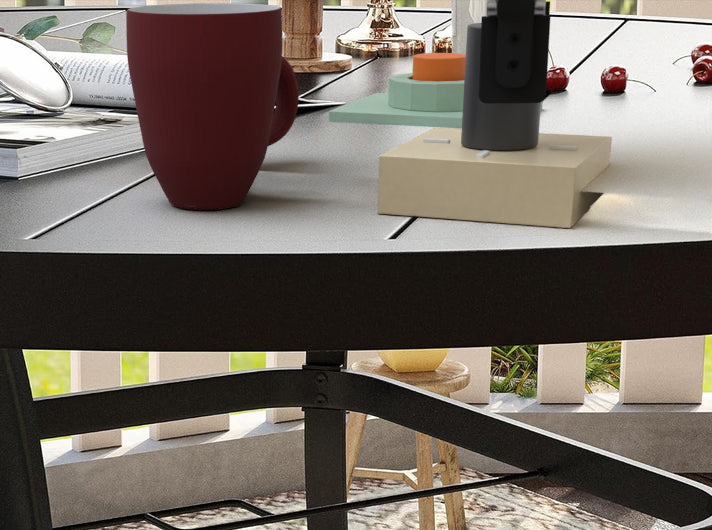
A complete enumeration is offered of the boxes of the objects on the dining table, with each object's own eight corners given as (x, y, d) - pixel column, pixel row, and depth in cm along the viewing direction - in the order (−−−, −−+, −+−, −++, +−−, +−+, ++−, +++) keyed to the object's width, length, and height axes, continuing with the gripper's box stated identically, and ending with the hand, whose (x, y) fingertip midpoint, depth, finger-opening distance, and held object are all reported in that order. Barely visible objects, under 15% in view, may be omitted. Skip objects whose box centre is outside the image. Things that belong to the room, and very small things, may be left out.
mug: (226, 177, 83) (225, -2, 79) (337, 193, 78) (342, 3, 74) (101, 206, 76) (92, 10, 72) (215, 225, 71) (213, 16, 67)
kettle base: (540, 132, 97) (545, 72, 96) (506, 155, 89) (510, 89, 87) (375, 124, 102) (377, 66, 100) (328, 144, 93) (329, 82, 92)
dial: (463, 137, 76) (470, 15, 74) (538, 139, 75) (548, 15, 73) (458, 149, 73) (465, 21, 70) (537, 151, 72) (547, 22, 69)
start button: (472, 80, 95) (474, 53, 94) (458, 86, 92) (459, 59, 91) (420, 78, 96) (422, 52, 95) (405, 85, 93) (406, 57, 92)
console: (606, 192, 77) (612, 133, 76) (570, 228, 69) (576, 163, 68) (431, 180, 81) (433, 124, 80) (376, 213, 73) (379, 151, 72)
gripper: (623, -317, 57) (593, 112, 64) (607, -271, 73) (584, 70, 80) (438, -304, 59) (428, 113, 66) (461, -262, 75) (451, 72, 81)
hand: (514, 89), depth 73 cm, fingers open, 9 cm apart
